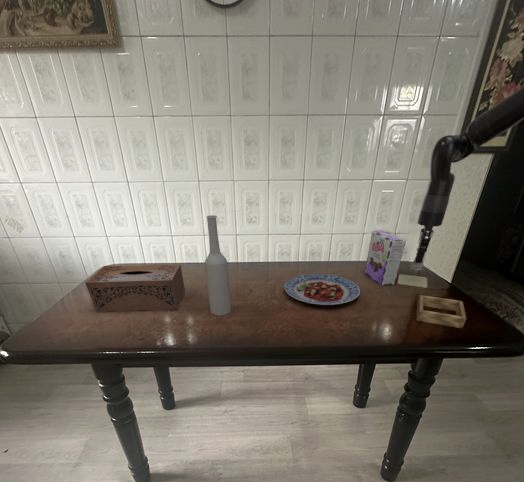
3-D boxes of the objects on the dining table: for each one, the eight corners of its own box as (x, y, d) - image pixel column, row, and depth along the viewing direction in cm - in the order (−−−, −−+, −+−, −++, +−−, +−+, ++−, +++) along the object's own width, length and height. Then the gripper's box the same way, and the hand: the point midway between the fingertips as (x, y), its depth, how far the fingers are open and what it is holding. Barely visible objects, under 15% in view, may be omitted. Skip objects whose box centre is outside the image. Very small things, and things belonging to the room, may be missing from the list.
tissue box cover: (96, 312, 95) (85, 282, 90) (112, 293, 107) (104, 266, 102) (177, 309, 96) (171, 280, 90) (185, 291, 108) (180, 264, 102)
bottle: (230, 305, 99) (223, 213, 83) (232, 314, 93) (224, 218, 77) (210, 306, 98) (198, 214, 82) (210, 316, 92) (198, 219, 76)
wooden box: (458, 310, 94) (462, 301, 92) (462, 328, 85) (466, 318, 83) (417, 303, 98) (419, 294, 96) (416, 320, 89) (419, 310, 87)
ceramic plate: (370, 289, 107) (371, 281, 106) (339, 318, 91) (340, 309, 89) (307, 274, 120) (308, 267, 119) (270, 297, 103) (270, 288, 102)
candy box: (363, 272, 121) (371, 230, 112) (377, 271, 122) (386, 229, 113) (380, 286, 110) (391, 240, 101) (395, 284, 111) (407, 239, 102)
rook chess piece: (420, 272, 108) (427, 249, 104) (407, 269, 110) (413, 247, 106) (423, 268, 111) (430, 246, 107) (411, 266, 113) (417, 244, 109)
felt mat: (426, 278, 116) (427, 277, 115) (426, 288, 108) (427, 287, 108) (399, 274, 119) (399, 273, 119) (397, 284, 112) (397, 283, 111)
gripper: (447, 214, 93) (430, 268, 103) (445, 206, 103) (429, 256, 113) (420, 212, 95) (406, 265, 105) (421, 205, 106) (408, 254, 116)
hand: (418, 260), depth 109 cm, fingers closed on rook chess piece, 3 cm apart
